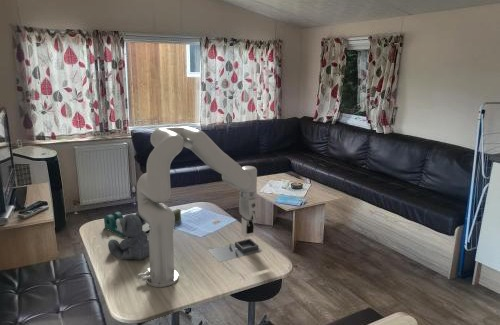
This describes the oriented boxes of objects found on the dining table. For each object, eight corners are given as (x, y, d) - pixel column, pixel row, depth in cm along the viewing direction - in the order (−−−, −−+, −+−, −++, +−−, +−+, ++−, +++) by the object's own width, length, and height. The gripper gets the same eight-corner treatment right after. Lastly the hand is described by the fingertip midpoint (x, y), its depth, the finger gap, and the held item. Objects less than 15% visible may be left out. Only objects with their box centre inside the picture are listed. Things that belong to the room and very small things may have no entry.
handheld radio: (182, 221, 211) (145, 237, 192) (177, 219, 213) (140, 235, 194) (181, 209, 210) (144, 224, 190) (177, 208, 212) (139, 223, 192)
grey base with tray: (218, 264, 169) (219, 256, 168) (207, 252, 179) (207, 245, 178) (262, 252, 179) (262, 246, 178) (249, 242, 189) (249, 235, 188)
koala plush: (140, 240, 188) (138, 202, 183) (161, 253, 176) (160, 213, 171) (106, 252, 176) (103, 212, 171) (127, 267, 164) (124, 225, 159)
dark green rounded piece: (104, 228, 200) (103, 214, 198) (116, 224, 206) (115, 210, 203) (126, 238, 190) (125, 223, 188) (137, 234, 195) (136, 219, 193)
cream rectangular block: (245, 237, 177) (246, 221, 175) (241, 233, 181) (241, 217, 179) (253, 235, 179) (253, 219, 177) (249, 232, 183) (249, 216, 181)
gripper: (265, 198, 169) (263, 236, 174) (246, 186, 183) (245, 222, 188) (250, 201, 166) (249, 240, 171) (232, 189, 180) (231, 225, 185)
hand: (247, 230), depth 179 cm, fingers closed on cream rectangular block, 4 cm apart
